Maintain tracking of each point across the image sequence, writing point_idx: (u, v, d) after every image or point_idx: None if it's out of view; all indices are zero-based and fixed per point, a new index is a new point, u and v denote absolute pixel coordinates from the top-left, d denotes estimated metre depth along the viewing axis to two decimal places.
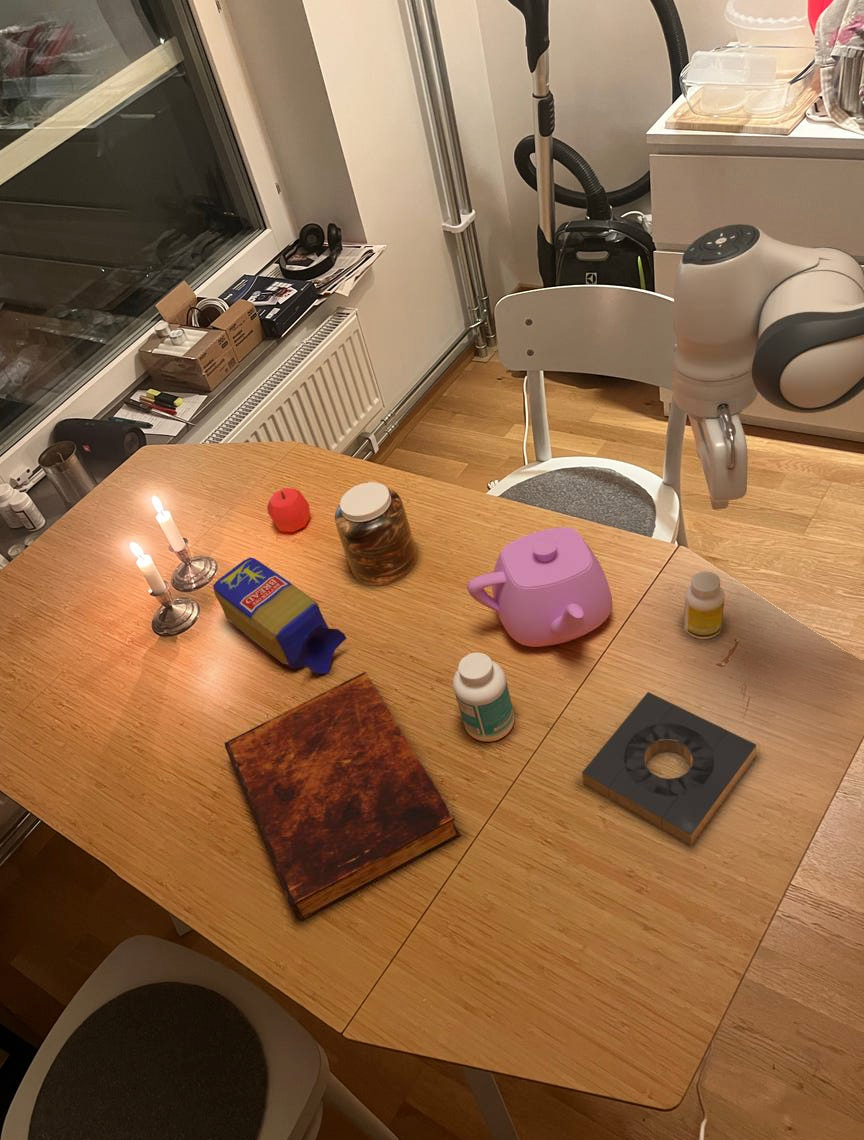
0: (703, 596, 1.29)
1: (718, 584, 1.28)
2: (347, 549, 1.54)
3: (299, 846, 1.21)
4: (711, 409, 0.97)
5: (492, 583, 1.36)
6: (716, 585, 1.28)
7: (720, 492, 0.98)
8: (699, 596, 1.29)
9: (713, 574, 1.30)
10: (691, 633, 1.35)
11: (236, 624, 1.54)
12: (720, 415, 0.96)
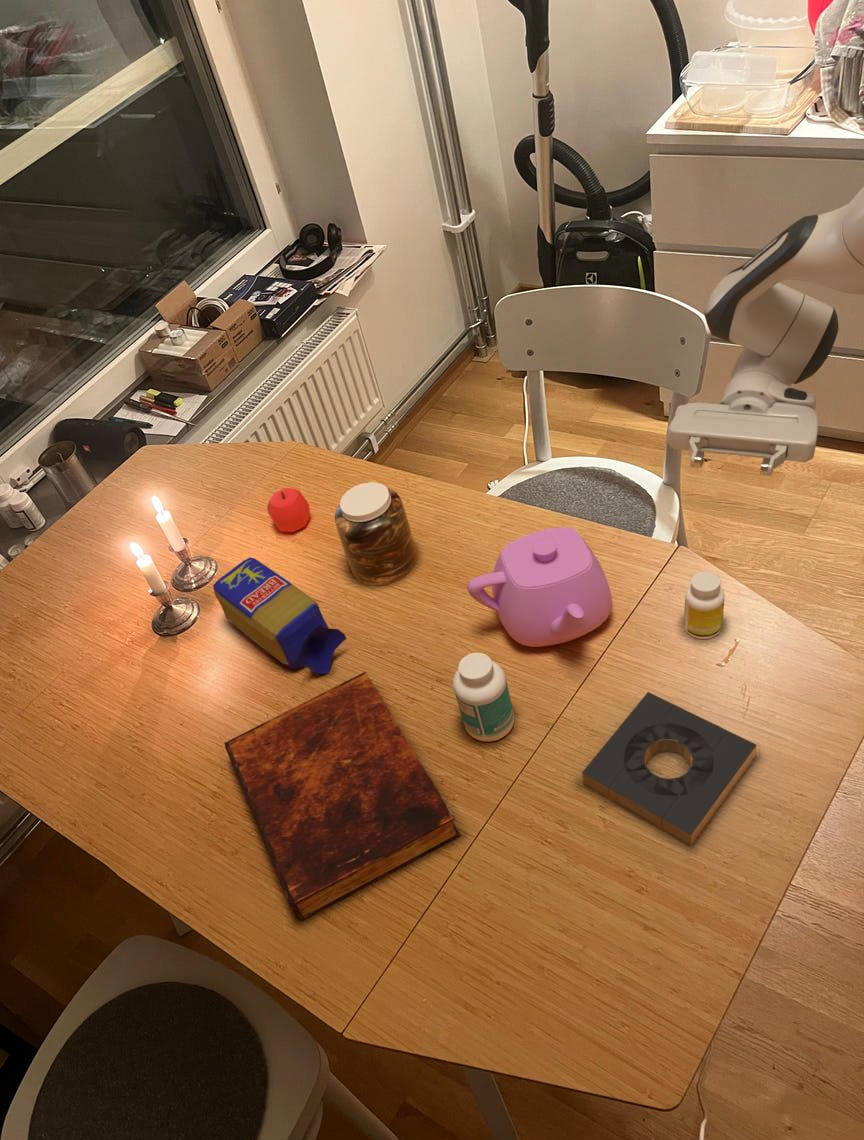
0: (703, 596, 1.29)
1: (718, 584, 1.28)
2: (347, 549, 1.54)
3: (299, 846, 1.21)
4: None
5: (492, 583, 1.36)
6: (716, 585, 1.28)
7: None
8: (699, 596, 1.29)
9: (713, 574, 1.30)
10: (691, 633, 1.35)
11: (236, 624, 1.54)
12: None
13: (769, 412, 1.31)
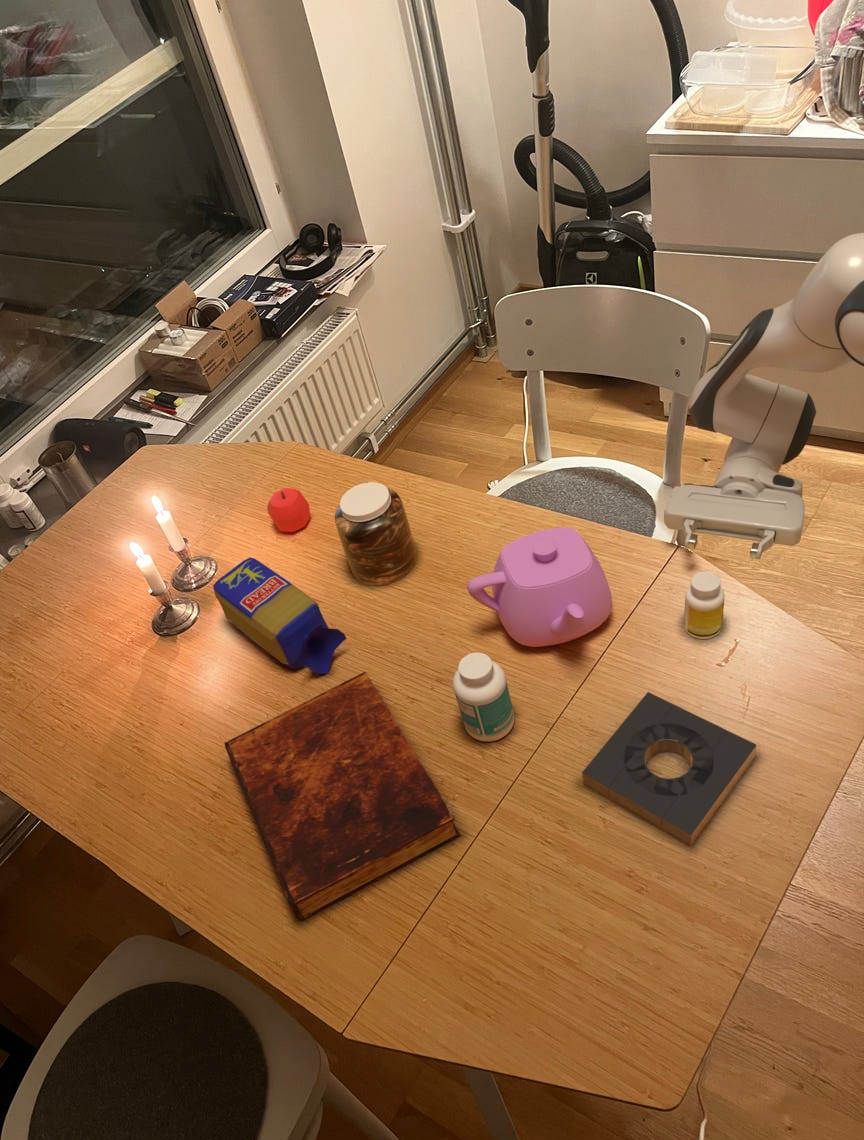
0: (703, 596, 1.29)
1: (718, 584, 1.28)
2: (347, 549, 1.54)
3: (299, 846, 1.21)
4: None
5: (492, 583, 1.36)
6: (716, 585, 1.28)
7: None
8: (699, 596, 1.29)
9: (713, 574, 1.30)
10: (691, 633, 1.35)
11: (236, 624, 1.54)
12: None
13: (759, 497, 1.40)
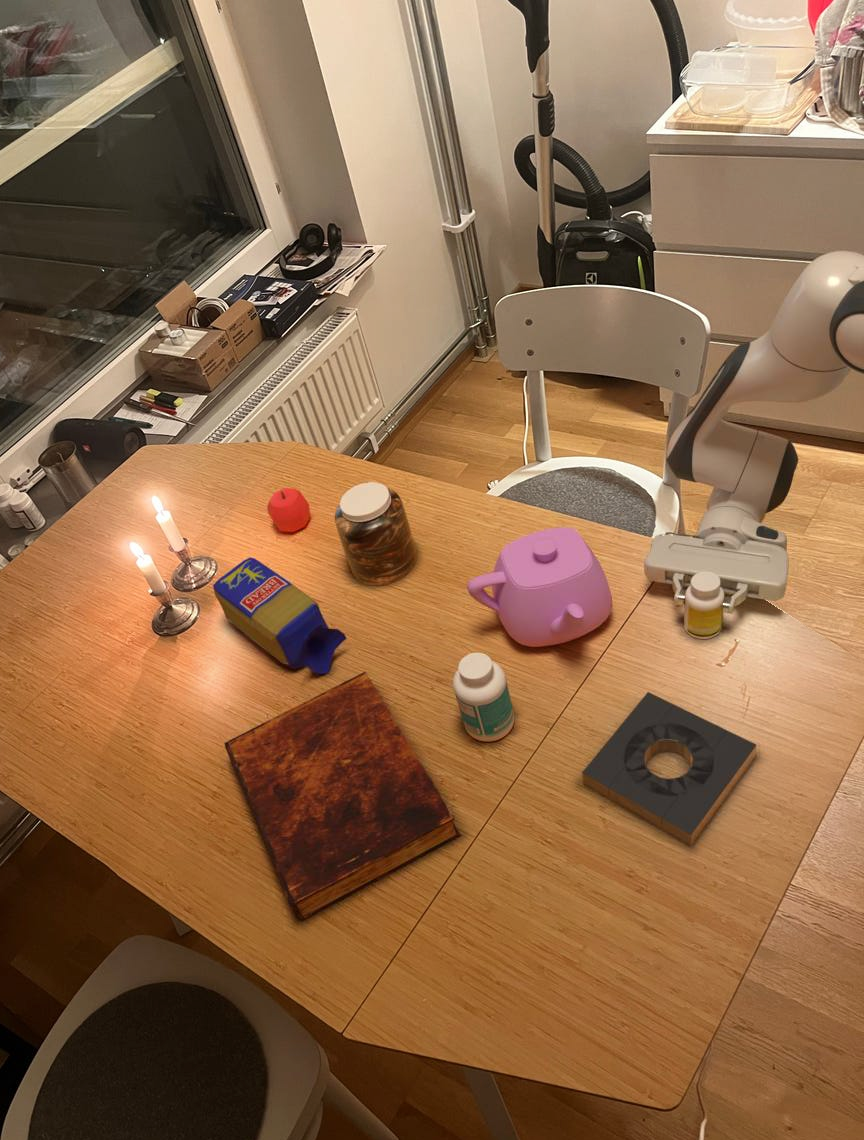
0: (703, 596, 1.29)
1: (718, 584, 1.28)
2: (347, 549, 1.54)
3: (299, 846, 1.21)
4: None
5: (492, 583, 1.36)
6: (716, 585, 1.28)
7: None
8: (699, 596, 1.29)
9: (713, 574, 1.30)
10: (691, 633, 1.35)
11: (236, 624, 1.54)
12: None
13: (742, 549, 1.35)
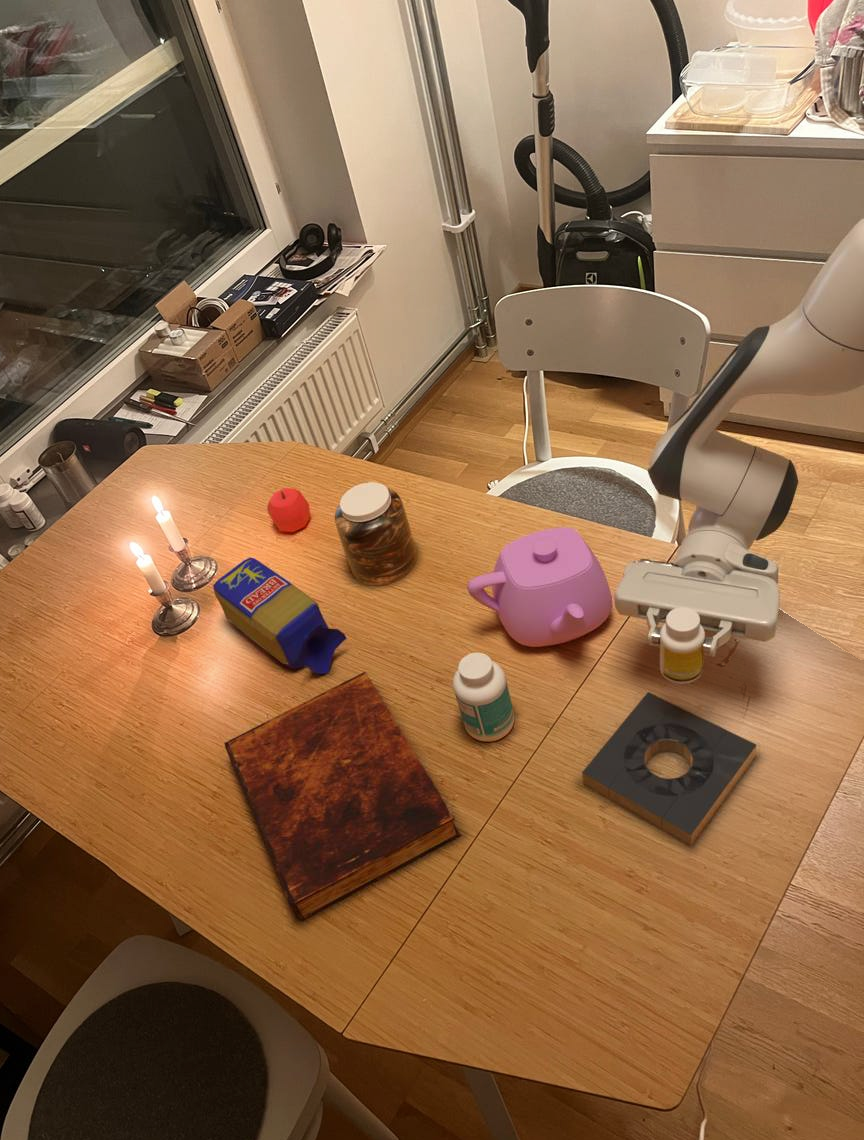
0: (680, 637, 1.11)
1: (697, 623, 1.11)
2: (347, 549, 1.54)
3: (299, 846, 1.21)
4: None
5: (492, 583, 1.36)
6: (695, 624, 1.10)
7: None
8: (675, 636, 1.12)
9: (692, 611, 1.12)
10: (668, 677, 1.17)
11: (236, 624, 1.54)
12: None
13: (726, 581, 1.17)
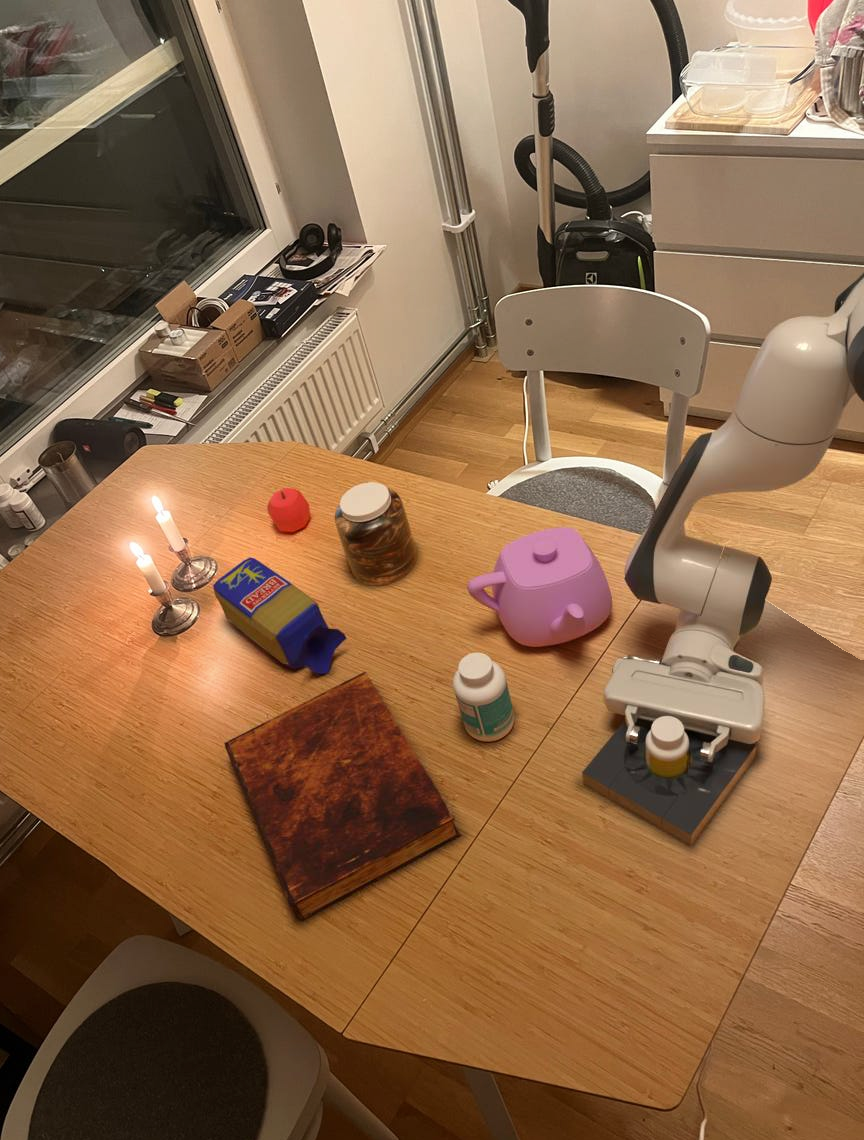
0: (664, 746, 1.15)
1: (681, 733, 1.14)
2: (347, 549, 1.54)
3: (299, 846, 1.21)
4: None
5: (492, 583, 1.36)
6: (679, 735, 1.14)
7: None
8: (660, 745, 1.15)
9: (676, 720, 1.16)
10: None
11: (236, 624, 1.54)
12: None
13: (712, 682, 1.19)
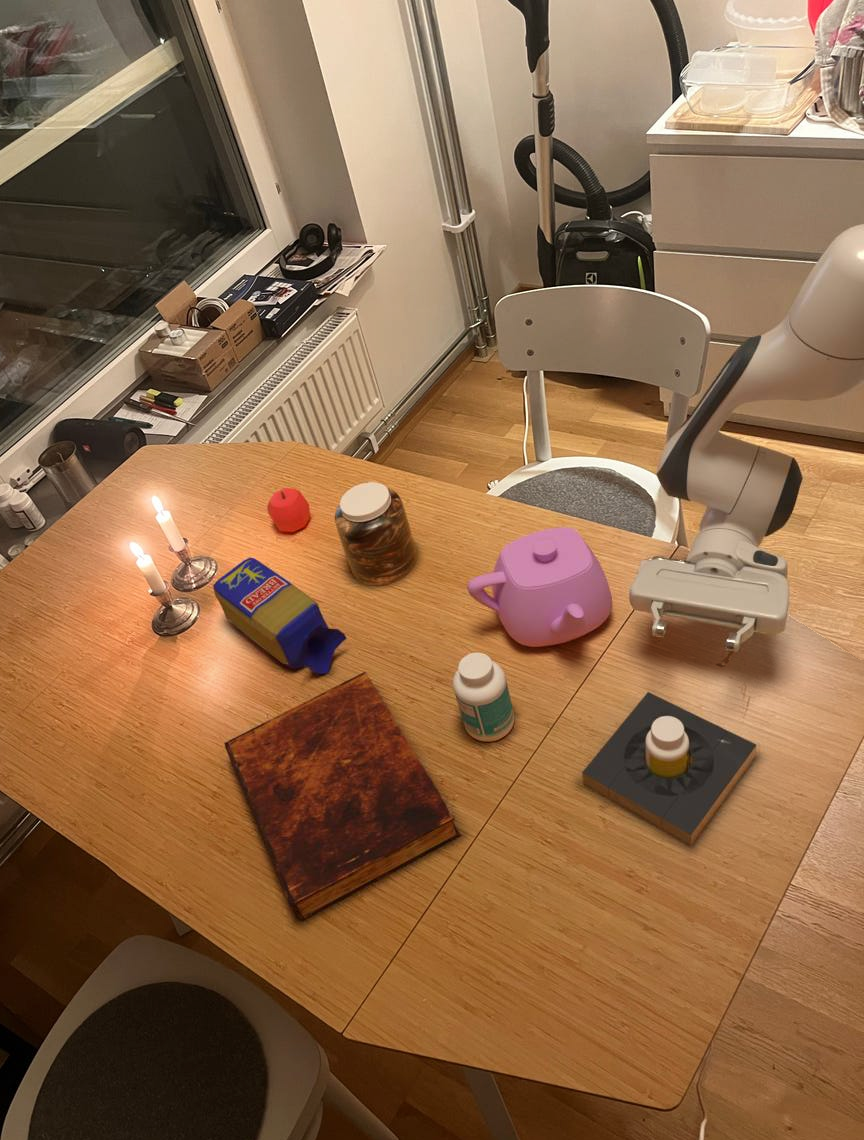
0: (665, 746, 1.15)
1: (681, 733, 1.14)
2: (347, 549, 1.54)
3: (299, 846, 1.21)
4: None
5: (492, 583, 1.36)
6: (679, 735, 1.14)
7: None
8: (660, 745, 1.15)
9: (676, 720, 1.16)
10: None
11: (236, 624, 1.54)
12: None
13: (737, 577, 1.21)
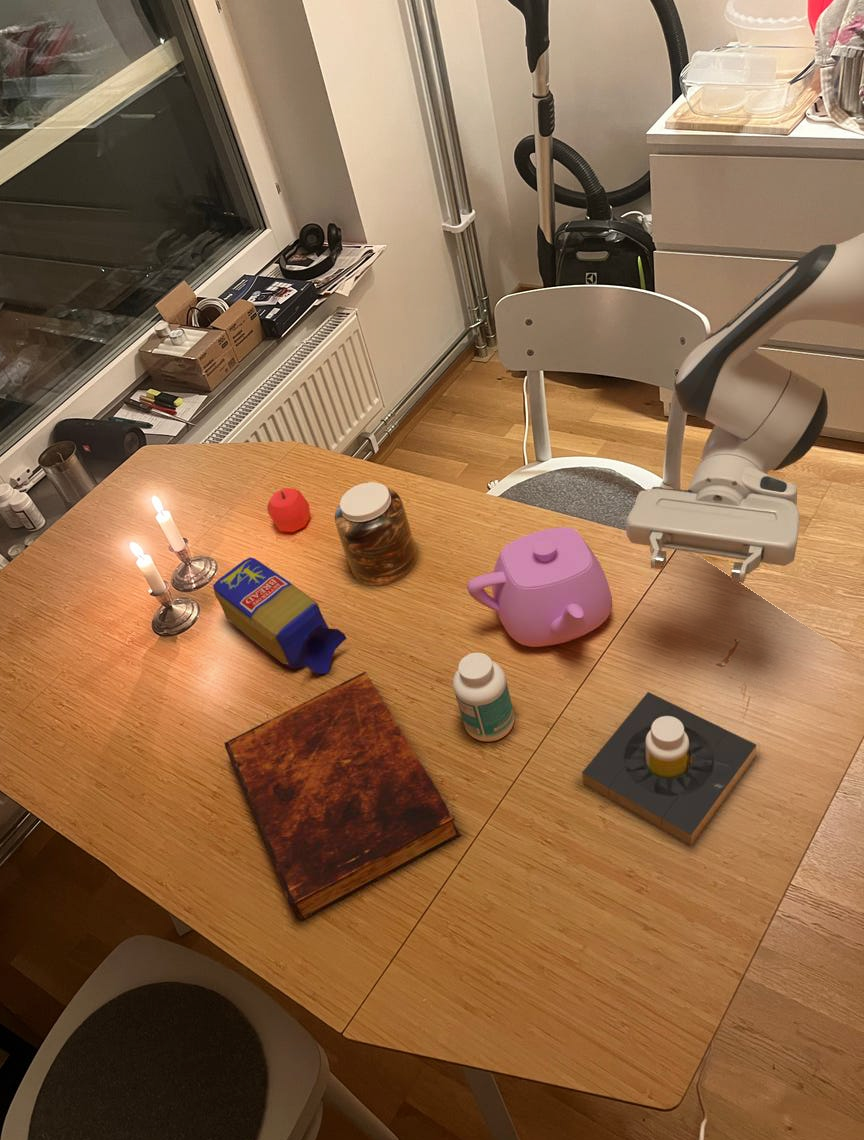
0: (664, 746, 1.15)
1: (681, 733, 1.14)
2: (347, 549, 1.54)
3: (299, 846, 1.21)
4: None
5: (492, 583, 1.36)
6: (679, 735, 1.14)
7: None
8: (660, 745, 1.15)
9: (676, 720, 1.16)
10: None
11: (236, 624, 1.54)
12: None
13: (743, 505, 1.12)
